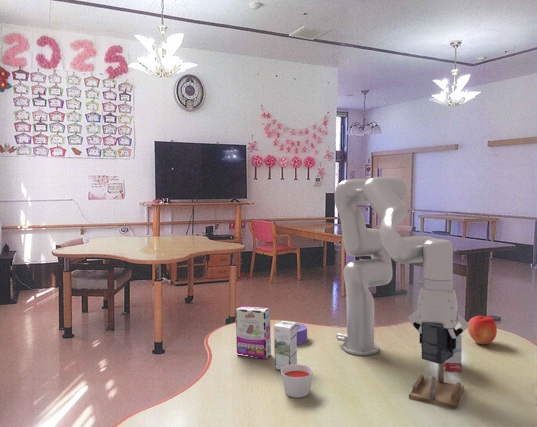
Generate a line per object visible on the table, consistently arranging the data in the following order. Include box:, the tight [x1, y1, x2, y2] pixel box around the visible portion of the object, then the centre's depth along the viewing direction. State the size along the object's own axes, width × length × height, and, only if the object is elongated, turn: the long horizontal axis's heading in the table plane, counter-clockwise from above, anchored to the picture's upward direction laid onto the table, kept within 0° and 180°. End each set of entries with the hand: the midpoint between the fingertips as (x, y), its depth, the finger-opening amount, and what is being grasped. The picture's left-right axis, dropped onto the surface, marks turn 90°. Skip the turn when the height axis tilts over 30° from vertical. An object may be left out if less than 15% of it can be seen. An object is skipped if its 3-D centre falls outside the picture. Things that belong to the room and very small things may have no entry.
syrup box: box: [273, 320, 298, 371], centre depth 142 cm, size 6×6×14 cm
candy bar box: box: [235, 305, 272, 360], centre depth 154 cm, size 11×5×16 cm, turn 68°
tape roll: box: [295, 322, 308, 345], centre depth 169 cm, size 12×12×5 cm
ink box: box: [444, 326, 463, 373], centre depth 142 cm, size 9×5×12 cm, turn 168°
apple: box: [467, 315, 498, 345], centre depth 162 cm, size 10×10×10 cm
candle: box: [280, 363, 314, 399], centre depth 126 cm, size 9×9×6 cm
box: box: [421, 322, 453, 365], centre depth 123 cm, size 8×6×11 cm
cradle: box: [408, 362, 465, 410], centre depth 124 cm, size 12×13×7 cm
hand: (437, 348), depth 123 cm, fingers closed on box, 6 cm apart
